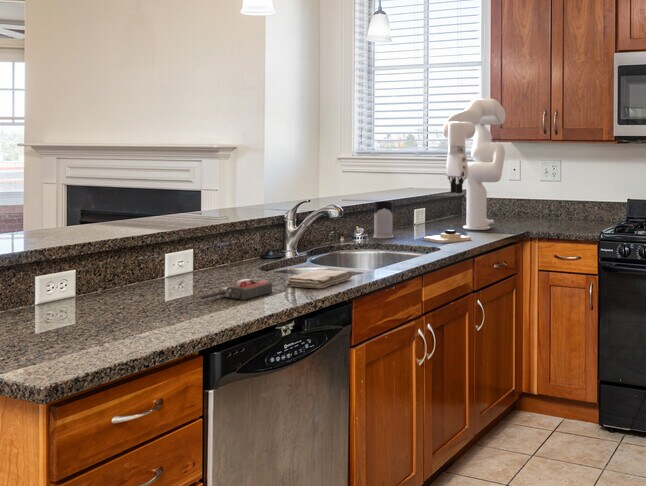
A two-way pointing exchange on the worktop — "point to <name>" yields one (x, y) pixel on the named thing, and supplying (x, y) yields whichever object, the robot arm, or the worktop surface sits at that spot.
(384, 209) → the glass holder
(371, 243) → the worktop surface
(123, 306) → the worktop surface
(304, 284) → the washcloth
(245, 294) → the walkie-talkie
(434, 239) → the beige flat slab
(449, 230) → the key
